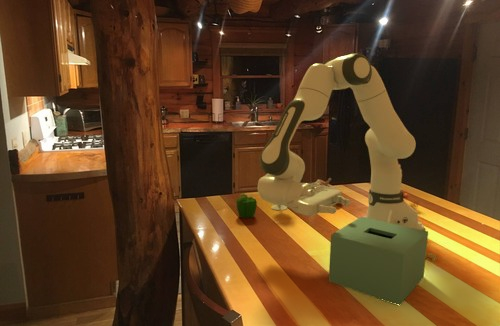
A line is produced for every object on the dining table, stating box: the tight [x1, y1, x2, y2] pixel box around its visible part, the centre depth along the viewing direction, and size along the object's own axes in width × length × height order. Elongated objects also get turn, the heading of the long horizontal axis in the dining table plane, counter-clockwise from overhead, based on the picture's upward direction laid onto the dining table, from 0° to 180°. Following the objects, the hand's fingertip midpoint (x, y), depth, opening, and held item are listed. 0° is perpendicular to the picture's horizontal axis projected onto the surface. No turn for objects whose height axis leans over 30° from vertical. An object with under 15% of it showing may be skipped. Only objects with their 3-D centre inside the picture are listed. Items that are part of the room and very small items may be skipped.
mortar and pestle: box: [315, 177, 340, 190], centre depth 190 cm, size 12×12×11 cm
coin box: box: [328, 216, 429, 306], centre depth 114 cm, size 20×20×14 cm
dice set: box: [426, 252, 438, 261], centre depth 131 cm, size 5×5×2 cm
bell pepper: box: [236, 193, 258, 219], centre depth 168 cm, size 8×8×10 cm
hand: (342, 206), depth 120 cm, fingers open, 8 cm apart
